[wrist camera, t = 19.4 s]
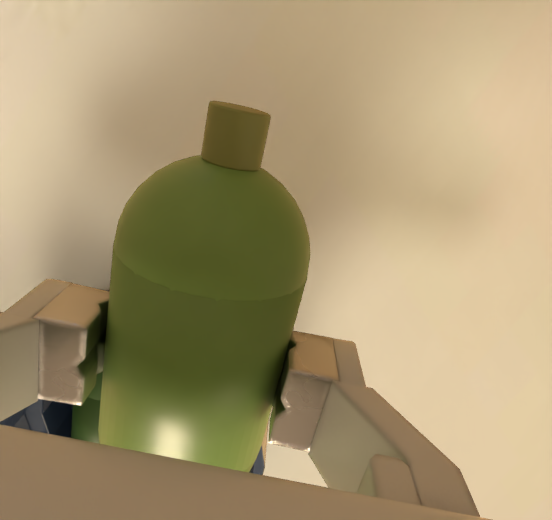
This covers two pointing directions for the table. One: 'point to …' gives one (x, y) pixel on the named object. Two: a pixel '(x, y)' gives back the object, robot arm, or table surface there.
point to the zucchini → (88, 415)
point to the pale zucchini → (203, 300)
